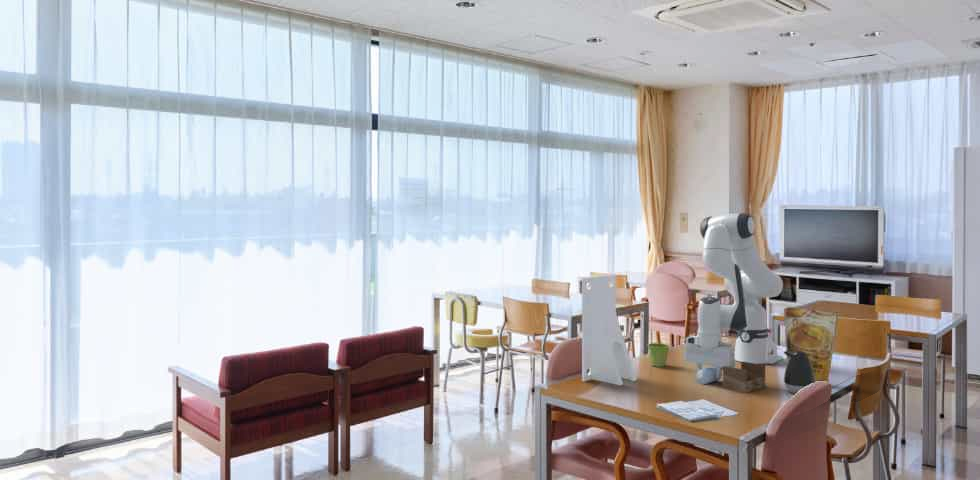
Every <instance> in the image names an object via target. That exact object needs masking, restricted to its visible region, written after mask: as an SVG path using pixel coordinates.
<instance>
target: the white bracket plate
mask: <svg viewBox="0 0 980 480" xmlns="http://www.w3.org/2000/svg"><path fill="white" fill-rule="evenodd" d="M616 280H617V275H616V274H614V273H613V274H612V273H611V274H605V275H602V274H601V275H596V276H595V275H594V276H584V277H581V332H582V333H581V362H582V363H581V364H582V365H581V366H582V367H581V371H582V372H581V379H582V380H581V381H582V382H587V381H591V380H592V381H593V380H594V381H598V382H601V383H609V384H613V385H618V386H621V385H624V383H623V380H622V379H624V380H627V381H631V382H635V381H636V382H637V377H636V374H635V371H634V369H633V364H632V361H631V358H630V355H629V351H628V348H627V345H626V341H625V338H624V334H623V330H622V328H621V325H620V322H619V321H620V320H619V319H618V314H617V312H616V311H617V306H616V305H617V303H616V302H617V301H616V300H617V293H616V289H617V288H616V287H617V281H616ZM588 370H589V372H588Z"/></svg>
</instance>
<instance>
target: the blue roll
mask: <svg viewBox="0 0 980 480" xmlns="http://www.w3.org/2000/svg"><path fill="white" fill-rule="evenodd" d="M717 371H718V370H717V367H716V366H711V367H710V366H709V367H707V368H702V370H698V371H697V372H696V376H695V377H696V381H697V382H698V383H699V384H700V385H707V384H710V383H713V382H718V381H720V380H721V379H723V371H722V372H721V373H720V378H719V379H717V378H714V373H717Z"/></svg>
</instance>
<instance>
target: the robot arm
mask: <svg viewBox="0 0 980 480" xmlns="http://www.w3.org/2000/svg"><path fill="white" fill-rule="evenodd" d="M699 227H700V228H699V231H700V235H701V237H702V238H703V244H702V254H701V255H702V258H701V259H702V265H703V266H704V268H705V269H706V270H707V271H708V272H710V273H712V274H714V275H715V276H718V277H721V278H722V279H724V286H725V289H726V291H727V292H728V293H729V294H730V295H731V297H733V303H732V304H721V301H720V299H719V298H717V297H714V296H706V297H701V298H700V299H699V302H698V307H697V310H696V322H697V325H698V329H697V334H695V335H693V336H688V337H686V338H685V343H686V344H685V346H684V355H683V356H684V360H685V361H686V362H688V363H693V364H695V367H696V369H697V370H698V371H699V370H702V369H703V368H702V366H703V365H705V366H709V367H710V366H711V367H714V366H716V367H717V370H718V371H717V373H714V378H717V379H719V378H720V373H721V372H722V373H723V366H727V367H733V368H735V366H736V361H737V362H740V363H741V362H743V361H744V362H750V363H756V364H761V365H763V364H764V365H765V364H769V365H770V364H771V365H772V364H775V363H777V362H779V361H781V360H783V359H784V357H783V355H780V354H778V346H777V345H776V343H775V342H774V341H773V340H772V339H770V337H769V336H770V334H771V333H772V328H767V310H766V309H765V307H764V306H762V305H761V304H759V302H758V301H757V298H765V299H766V298H774V297H778V296H779V295H780V294H781V293H782V292H783V287H784V283H783V280H782V277H781V276H780V275H779V274H777V273H775V272H774V271H772V270H771V269H770V267H768V266H767V265H766V263H765V262H764V261H763V259H762V258H761V255H760V253H759V249H758V247H757V244H756V240H755V237H754V234H755V231H756V221H755V219H754V217H753V216H752V215H751V214H749V213H745V212H740V213H725V214H720V215H719V214H718V215H714V216H708V217H705V218H704V219H702V221H701V222H700V226H699ZM756 297H757V298H756ZM722 330H725V331H726V330H727V331H728V330H729V331H733V332H737V336H738V337H737V338H736V339H735V347H734V346H733V345H732V344H731V343H730V342H728V343H727V342H724V341H723V340H722V337H723V335H722V334H723V333H722V332H723V331H722Z"/></svg>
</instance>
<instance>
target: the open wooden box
mask: <svg viewBox="0 0 980 480" xmlns="http://www.w3.org/2000/svg"><path fill="white" fill-rule="evenodd" d="M740 363H741V364H740V365H741V367H740V368H738V367H734V368H733V367H727V366H723V370H722V389H726V390H731V391H734V390H735V392H739V391H740V392H741V393H749V392H752V391H754V390H758V389H762V388H765V387H766V365H765V364H757V363H750V362H744V361H743V362H740Z"/></svg>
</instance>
